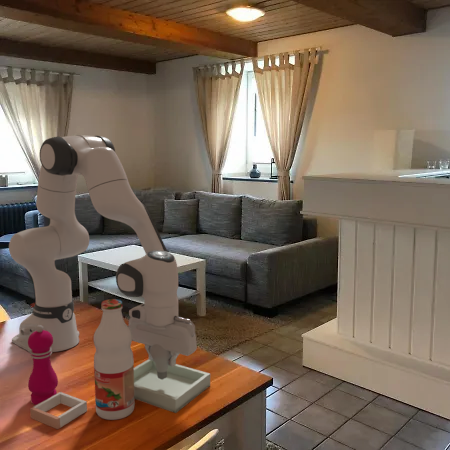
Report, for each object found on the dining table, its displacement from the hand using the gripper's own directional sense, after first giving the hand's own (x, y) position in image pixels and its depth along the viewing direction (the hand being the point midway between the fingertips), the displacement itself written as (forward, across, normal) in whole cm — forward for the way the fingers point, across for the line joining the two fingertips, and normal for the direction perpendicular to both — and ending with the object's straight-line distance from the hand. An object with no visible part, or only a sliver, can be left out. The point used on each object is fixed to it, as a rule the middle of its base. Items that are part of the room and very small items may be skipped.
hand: (162, 362), depth 132 cm
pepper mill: (+8, +23, +20) cm, 31 cm away
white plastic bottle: (+8, +3, +15) cm, 17 cm away
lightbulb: (+5, 0, 0) cm, 5 cm away
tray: (+8, 0, 0) cm, 8 cm away
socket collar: (+8, +14, +23) cm, 28 cm away
